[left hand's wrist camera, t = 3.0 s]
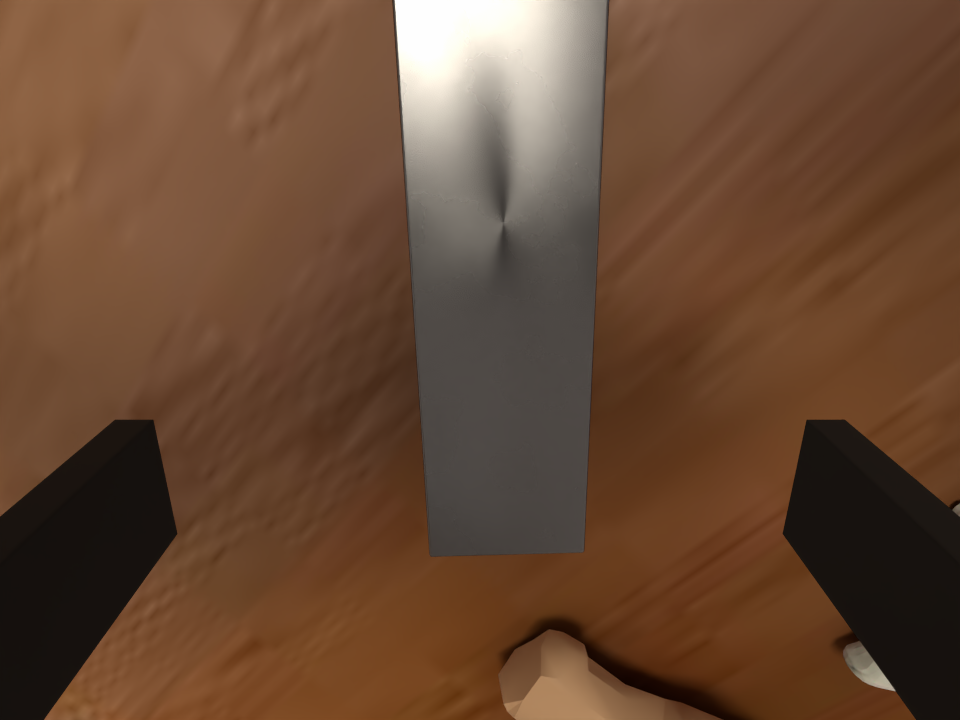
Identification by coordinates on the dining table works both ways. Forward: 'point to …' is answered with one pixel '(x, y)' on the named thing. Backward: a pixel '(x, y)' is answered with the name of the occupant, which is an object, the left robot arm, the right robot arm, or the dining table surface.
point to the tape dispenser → (869, 659)
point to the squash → (577, 687)
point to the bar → (503, 261)
